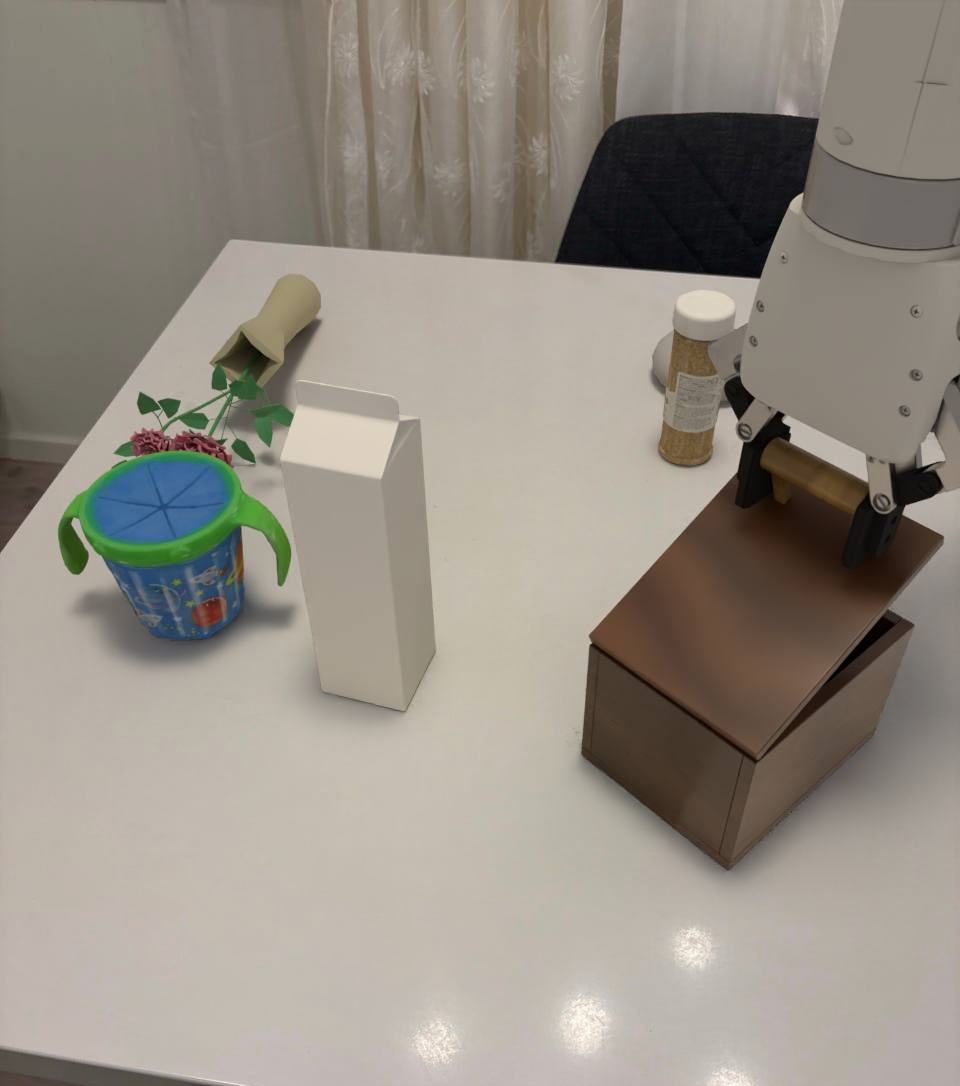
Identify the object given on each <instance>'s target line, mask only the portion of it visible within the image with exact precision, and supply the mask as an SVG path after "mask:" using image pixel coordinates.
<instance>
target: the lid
mask: <svg viewBox="0 0 960 1086" xmlns="http://www.w3.org/2000/svg"><path fill="white" fill-rule="evenodd" d="M760 466H761V467H762V468H763V469H765V470H767V471H769V472H771V477H772V484H773V491H774V492H772V493H771V494H769V495H768V496H766V497H765V498H763V499H762V500H760V501H759V502H757V503H756V504H754V505H753V506H751V507H750V508H748V509H747V508H745V509H742V508H740V507H738V506H737V505H735V498H736V493H737V488H738V483H739V481H738V480H737V472H735V473H734V475H733V476H732V477H731V478H729V480H728V481H727V482H726V483H725V484H724V486H723V487H722V488H721V489H720V490H719V491H718V493H716V494H715V496H714V497H713V498H712V499H711V500H710V501H709V502H708V503H707V504H706V505H705V506H704V507H703V509H702V510H701V511H700V512H699V513H698V514H697V515H696V516H695V517H694V519H693V520H692V521H690V523H689V524H688V525H687V526H686V527H685V529H683V531H682V532H681V533H680V534H679V535H678V536H677V538H675V540H673V542H672V543H671V544H670V545H669V546H668V548H667V549H666V550H664V552H663V553H661V555H660V556H659V557H658V558H657V559H656V561H655V562H653V563H652V565H650V567H649V568H648V569H647V570H646V571H645V573H644V574H643V575H642V576H641V577H640V578H639V579H638V581H636V583H634V585H633V586H632V587H631V588H630V589H629V590H628V591H627V593H625V595H623V597H622V598H621V599H620V600H619V601H618V602H617V603H616V604H615V606H614V607H613V608H612V609H610V611H609V613H607V614H606V616H605V617H604V618H603V619H602V620H601V621H600V622H599V623H598V625H597V626H595V628H594V629H593V630H591V632H590V633H589V634H588V638H589V640H590V642H591V643H593V644H595V645H596V646H597V647H599V648H600V649H602V650H603V651H604V652H606V653H607V654H609V655H610V656H611V657H613V658H614V659H616V660H617V661H618V662H620V663H621V664H623V665H624V666H626V667H627V668H628V669H630V670H631V671H633V672H634V673H635V674H637V675H638V676H640V677H641V678H642V679H644V680H645V681H647V682H648V683H649V684H651V685H652V686H654V687H655V688H656V689H658V690H659V691H661V692H662V693H663V694H665V695H666V696H668V697H669V698H670V699H672V700H673V701H675V702H676V703H677V704H679V705H680V706H682V707H683V708H684V709H686V710H687V711H689V712H690V713H691V714H693V715H694V716H696V717H697V718H698V719H700V720H701V721H703V722H704V723H705V724H707V725H708V726H710V727H711V728H712V729H714V730H715V731H717V732H718V733H719V734H721V735H722V736H724V737H725V738H726V739H728V740H729V741H731V742H732V743H734V744H735V745H736V746H738V747H739V748H741V749H742V750H743V751H745V752H746V753H748V754H749V755H750V756H752V757H753V758H755V759H756V760H759V759H760V758H761V757H762V756H763V754H764V753H765V752H766V751H767V750H768V748H769V747H770V746H771V745H772V744H773V743H774V741H775V740H776V739H777V738H778V737H779V736H780V734H781V733H782V732H783V731H784V730H785V729H786V727H787V726H788V725H789V724H790V723H791V722H792V720H793V719H794V718H795V717H796V716H797V715H798V713H799V712H800V711H801V710H802V709H803V708H804V706H805V705H806V704H807V703H808V702H809V701H810V699H811V698H812V697H813V696H814V695H815V694H816V692H817V691H818V690H819V689H820V688H821V687H822V685H823V684H824V683H825V682H826V681H827V680H828V678H829V677H830V676H831V675H832V674H833V673H834V671H835V670H836V669H837V668H838V667H839V666H840V664H841V663H842V662H843V661H844V660H845V659H846V657H847V656H848V655H849V654H850V653H851V652H852V650H853V649H854V648H855V647H856V646H857V645H858V643H859V642H860V641H861V640H862V639H863V638H864V636H865V635H866V634H867V633H868V632H869V631H870V629H871V628H872V627H873V626H874V625H875V624H876V622H877V621H878V620H879V619H880V618H881V617H882V615H883V614H884V613H885V612H886V611H887V610H888V609H889V608H891V606H892V605H893V604H894V603H895V602H896V600H897V599H898V598H900V596H901V595H902V593H903V592H904V591H905V590H906V589H907V587H908V586H909V585H910V584H911V583H912V582H913V581H914V579H915V578H917V576H918V575H919V574H920V572H922V570H923V569H924V568H925V566H927V564H928V563H929V562H930V561H931V559H932V558H933V557H934V556H935V555H936V554H937V553H938V551H939V550H940V549H941V548H942V547H943V545H944V544H945V543H944V542H945V536H944V535H943V534H941V533H939V532H937V531H935V530H933V529H931V528H929V527H927V526H925V525H923V524H921V523H919V522H918V521H916V520H914V519H912V518H910V517H908V516H907V515H905V514H902V517H901V520H900V523H899V526H898V529H897V532H896V535H895V538H894V540H893V542H892V544H891V545H890V547H889V548H888V549H887V551H885V552H884V553H883V554H882V555H881V556H879V557H876V556H874V555H872V556H870V557H869V558H868V559H867V560H865V561H864V562H863V563H861V564H860V565H859V566H858V567H856V568H855V569H854V570H852V571H851V570H849V569H848V568H846V567H844V566H843V565H842V562H841V561H840V560H841V557H842V553H843V550H844V547H845V543H846V540H847V537H848V534H849V530H850V527H851V524H852V520H853V517H854V514H855V510H856V508H857V506H858V505H859V504H860V503H861V502H863V501H864V500H865V499H867V498H868V497H869V496H870V492H869V483H868V481H866V480H864V479H862V478H861V477H859V476H857V475H854V474H853V473H851V472H849V471H846V470H845V469H843V468H841V467H839V466H837V465H835V464H833V463H831V462H829V461H827V460H825V459H823V458H821V457H819V456H818V455H815V454H813V453H812V452H810V451H808V450H805V449H804V448H801V446H798V445H796V444H794V443H792V442H791V441H790V442H788V441H786V440H784V439H782V438H780V437H776V438H774V439H772V440H771V441H770V442H769V443H768V444H767V446H766V447H765V449H764V451H763V453H762V455H761V458H760Z"/></svg>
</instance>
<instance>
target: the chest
mask: <svg viewBox="0 0 960 1086" xmlns="http://www.w3.org/2000/svg"><path fill="white" fill-rule="evenodd" d="M915 627H916V624H915V623H913V622H912V621H910V620H908V619H907V618H904V617H903V616H901V615H899V614H897V613H896V612H895V611H893V610H891V609H889V608H888V610H887V611H886V612H885V613H884V614H883V615H882V617H881V618H880V619H879V620H878V621H877V622H876V624H875V625H874V626H873V627H872V628H871V629H870V631H869V632H868V633H867V634H866V635H865V636H864V638H863V639H862V640H861V641H860V642H859V643H858V645H857V646H856V647H855V648H854V649H853V650H852V652H851V653H850V654H849V655H848V656H847V657H846V659H845V660H844V661H843V662H842V663H841V664H840V666H839V667H838V668H837V669H836V670H835V671H834V673H833V674H832V675H831V676H830V677H829V678H828V680H827V681H826V682H825V683H824V684H823V685H822V687H821V688H820V689H819V690H818V691H817V692H816V694H815V695H814V696H813V697H812V698H811V699H810V701H809V702H808V703H807V704H806V705H805V706H804V708H803V709H802V710H801V711H800V712H799V713H798V715H797V716H796V717H795V718H794V719H793V720H792V722H791V723H790V724H789V725H788V726H787V727H786V729H785V730H784V731H783V732H782V733H781V734H780V736H779V737H778V738H777V739H776V740H775V741H774V743H773V744H772V745H771V746H770V747H769V748H768V750H767V751H766V752H765V753H764V754H763V756H762V757H761V758H760V759H759V760H756V759H755V758H753V757H752V756H750V755H749V754H748V753H746V752H745V751H743V750H742V749H741V748H739V747H738V746H736V745H735V744H734V743H732V742H731V741H729V740H728V739H726V738H725V737H724V736H722V735H721V734H719V733H718V732H717V731H715V730H714V729H712V728H711V727H710V726H708V725H707V724H705V723H704V722H703V721H701V720H700V719H698V718H697V717H696V716H694V715H693V714H691V713H690V712H689V711H687V710H686V709H684V708H683V707H682V706H680V705H679V704H677V703H676V702H675V701H673V700H672V699H670V698H669V697H668V696H666V695H665V694H663V693H662V692H661V691H659V690H658V689H656V688H655V687H654V686H652V685H651V684H649V683H648V682H647V681H645V680H644V679H642V678H641V677H640V676H638V675H637V674H635V673H634V672H633V671H631V670H630V669H628V668H627V667H626V666H624V665H623V664H621V663H620V662H618V661H617V660H616V659H614V658H613V657H611V656H610V655H609V654H607V653H606V652H604V651H603V650H602V649H600V648H599V647H597V646H596V645H595V644H593V643H592V642H591V643H590V644H589V646H588V657H587V658H588V659H587V671H586V685H585V696H584V697H585V698H584V711H583V723H582V724H583V725H582V737H581V748H580V749H581V750H580V755H582V757H584V758H585V759H587V760H588V761H589V762H590V763H592V764H593V765H594V766H596V768H598V769H599V770H600V771H602V772H603V773H604V774H606V775H607V776H608V777H609V778H611V779H612V780H613V781H614V782H615V783H617V784H618V785H619V786H620V787H622V788H623V789H625V790H626V791H627V792H629V794H631V795H632V796H633V797H635V798H636V799H637V800H639V802H641V804H643V805H644V806H646V807H647V808H648V809H650V810H651V811H652V812H653V813H654V814H656V815H657V816H658V817H659V818H661V819H662V820H664V822H666V823H667V824H668V825H670V826H671V827H672V828H674V829H675V830H676V831H677V832H678V833H680V834H681V835H682V836H684V837H685V838H686V839H688V840H689V841H690V842H691V843H692V844H693V845H695V846H696V847H697V848H699V849H700V850H701V851H702V852H704V853H705V854H706V855H708V856H709V857H710V858H711V859H713V860H714V861H715V862H716V863H718V864H719V865H720V866H721V867H723V868H724V869H725V870H727V871H729V870H730V869H731V868H732V867H733V866H734V865H736V864H737V863H738V862H739V861H740V860H741V859H742V858H744V856H746V855H747V854H748V853H749V852H750V851H751V850H752V849H753V848H754V847H755V846H756V845H757V844H759V842H761V840H763V838H764V837H766V836H767V835H768V834H769V833H770V832H772V830H773V829H775V827H776V826H777V825H779V824H780V823H781V822H782V821H783V820H784V819H785V818H786V817H787V816H788V815H790V814H791V813H792V811H794V810H795V809H796V808H797V807H798V806H799V805H800V804H801V803H802V802H803V801H804V800H806V798H807V797H809V796H810V795H811V794H812V793H813V792H814V791H816V789H817V788H818V787H819V786H821V785H822V783H824V782H825V781H826V780H827V779H828V778H829V777H830V776H831V775H833V773H835V772H836V770H838V769H839V768H840V767H841V766H843V764H844V763H845V762H846V761H847V760H848V759H850V758H851V757H852V756H853V755H854V754H855V753H856V752H857V751H858V750H860V749H861V747H863V746H864V745H865V744H866V743H867V742H868V741H869V740H870V739H871V738H873V737H874V736H875V733H876V731H877V728H878V724H879V721H880V720H881V716H882V713H883V711H884V709H885V706H886V703H887V701H888V698H889V696H890V693H891V690H892V689H893V685H894V682H895V680H896V677H897V675H898V671H899V670H900V667H901V663H902V661H903V658H904V656H905V654H906V650H907V648H908V645H909V642H910V639H911V637H912V634H913V631H914V630H915Z"/></svg>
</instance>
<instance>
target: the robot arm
mask: <svg viewBox="0 0 960 1086" xmlns="http://www.w3.org/2000/svg"><path fill="white" fill-rule="evenodd" d="M830 59H831V60H830V65H829V69H828V73H827V79H826V84H825V88H824V92H823V93H824V94H823V98H822V103H821V108H820V112H819V117H818V123H817V127H816V131H815V137H814V140H813V146H812V151H811V155H810V159H809V165H808V169H807V170H808V171H807V174H806V180H805V184H804V189H803V192H802V193H800V194H798V195H796V196H795V197H794V198H793V199H792V200H791V201H790V203H789V205H788V208H787V209H786V211H785V214H784V216H783V218H782V221H781V223H780V225H779V227H778V229H777V232H776V234H775V237H774V239H773V242H772V244H771V247H770V249H769V252H768V255H767V258H766V260H765V264H764V266H763V269H762V271H761V275H760V278H759V282H758V285H757V288H756V291H755V295H754V299H753V303H752V307H751V310H750V314H749V318H748V322H747V323H745V324H743V325H741V326H739V327H737V328H735V329H736V330H734V331H732V332H731V333H729V334H727V335H725V336H723V337H722V338H720V339H718V340H716V341H715V342H713V343H711V344H710V345H709V346H708V355H709V357H710V359H711V361H712V363H713V365H714V367H715V369H716V371H717V373H718V375H719V377H720V379H721V381H722V380H724V382H725V385H724V393H725V395H726V397H727V399H728V400H727V401H728V404H729V406H730V407H731V409H732V411H733V414H734V416H735V417H736V419H737V423H736V425H735V429H734V430H735V434H736V436H737V438H738V439H739V440H740V441H742V447H741V452H740V457H739V461H738V466H737V471H736V473H737V480H738V481H739V483H738V488H737V493H736V498H735V505H737V506H738V507H740V508H742V509H745V508H747V509H748V508H750V507H751V506H753V505H754V504H756V503H757V502H759V501H760V500H762V499H763V498H765V497H766V496H768V495H769V494H771V493H772V492H774V491H773V484H772V477H771V472H769V471H767V470H765V469H763V468H762V467H761V466H760V458H761V455H762V453H763V451H764V449H765V447H766V446H767V444H768V443H769V442H770V441H771V440H772V439H774V438H776V437H780V438H782V439H784V440H786V441H788V442H790V443H791V438H792V433H791V426H790V425H788V424H786V423H785V422H784V421H785V419H786V418H788V417H790V418H792V419H794V420H796V421H798V422H800V423H801V424H804V425H806V426H808V427H810V428H812V429H813V430H816V431H817V432H820V433H822V434H824V435H825V436H828V437H829V438H832V439H835V440H836V441H838V442H840V443H842V444H844V445H845V446H848V447H850V448H853V449H855V450H857V451H858V452H861V453H862V454H864V455H865V461H866V462H865V464H866V474H867V482H868V483H869V492H870V496H869V497H868V498H867V499H865V500H864V501H863V502H861V503H860V504H859V505H858V506H857V508H856V510H855V514H854V517H853V520H852V524H851V527H850V530H849V534H848V537H847V540H846V543H845V547H844V550H843V553H842V557H841V560H840V561H841V562H842V565H843V566H844V567H846V568H848V569H849V570H851V571H852V570H854V569H855V568H856V567H858V566H859V565H860V564H861V563H863V562H864V561H865V560H867V559H868V558H869V557H870V556H872V555H874V556H876V557H879V556H881V555H882V554H883V553H884V552H885V551H887V549H888V548H889V547H890V545H891V544H892V542H893V540H894V538H895V535H896V532H897V529H898V526H899V523H900V520H901V517H902V515H904V511H905V508H906V506H908V505H913V504H916V503H919V502H922V501H925V500H929V499H932V498H934V497H935V496H936V495H940V494H943V493H949V492H952V491H955V490H958V489H960V0H843V1H842V6H841V11H840V16H839V21H838V25H837V30H836V36H835V41H834V45H833V50H832V55H831V58H830ZM930 433H933V434H934V437H935V439H936V440H937V443H938V445H939V447H940V449H941V451H942V453H943V455H944V460H943V461H942V460H940V461H936V462H933V463H929V464H926V465H924V466H923V456H922V455H923V454H922V443H924V442H925V441H926V439H927V437H928V435H929V434H930Z"/></svg>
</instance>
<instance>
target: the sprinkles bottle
mask: <svg viewBox="0 0 960 1086" xmlns="http://www.w3.org/2000/svg"><path fill="white" fill-rule="evenodd" d="M736 315H737V305H736V302H735V301H734V300H733V299H732V298H731V297H730V296H728V295H727V294H725V293H723V292H719V291H715V290H709V289H697V290H692V291H687V292H685V293H683V294H682V295H680V296H679V297H677V299H676V300H675V303H674V308H673V316H672V328H673V330H674V335H673V343H672V351H671V360H670V366H669V370H668V376H667V385H666V387H665V395H664V402H663V411H662V426H661V434H660V438H659V441H658V451H659V453H660V455H661V456H662V457H663V458H664V459H665V460H667V461H669V462H671V463H674V464H677V465H682V466H696V465H701V464H703V463H705V462H707V461H708V460H709V459H710V458H711V457H712V454H713V451H714V445H713V441H714V435H715V429H716V423H717V422H718V417H719V412H720V411H719V410H720V406H721V401H720V400H721V393H722V387H723V381H724V380H722V381H721V379H720V377H719V375H718V373H717V371H716V369H715V367H714V365H713V363H712V361H711V359H710V357H709V355H708V346H709V345H710V344H711V343H713V342H715V341H716V340H718V339H720V338H722V337H723V336H725V335H727V334H729V333H731V332H732V331H733V328H734V329H735V323H736V322H735V321H736Z"/></svg>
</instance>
